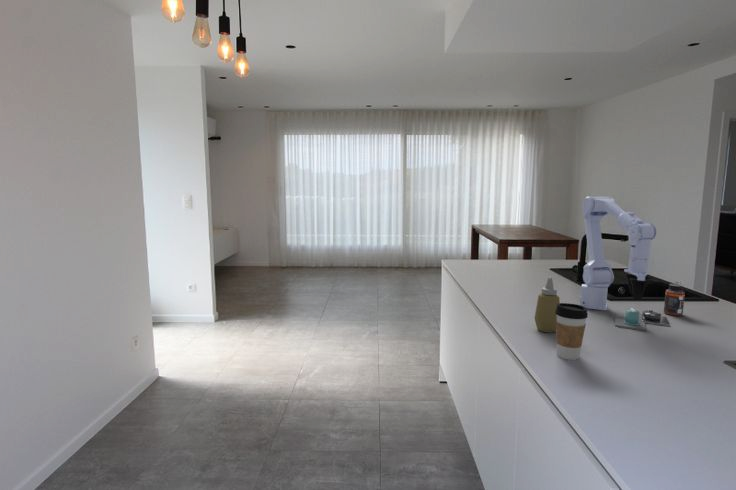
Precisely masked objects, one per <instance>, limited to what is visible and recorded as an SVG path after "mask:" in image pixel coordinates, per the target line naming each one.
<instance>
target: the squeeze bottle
mask: <svg viewBox="0 0 736 490" xmlns="http://www.w3.org/2000/svg"><path fill="white" fill-rule="evenodd" d="M557 293H558V289H557V288H556V287H554V283H553V278H552V277H548V278H547V280H546V283H545V286H544V287H541V293H539V294H538V296H537V301H536V308H535V313H534V322H535V325H536V329H537V330H538V331H539V332H542V333H543V332H544V333H556V319H557V314H555V310H556V307H557V304H558V303H561V302H560V296H559V295H557Z"/></svg>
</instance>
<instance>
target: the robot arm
mask: <svg viewBox="0 0 736 490" xmlns="http://www.w3.org/2000/svg"><path fill="white" fill-rule="evenodd" d="M581 208H582V210H581V211H582V217H583V218H582V219H584V227H585V237H586V243H587V244H586V245H587V252H588V260H589V261H588V262H587V263H585V265H584V266H582V267H583V274H582V280H583V282H584V283H582V284H581V288H580V296H579V302H580V303H579V305H581V306H584V307H586V308H587V309H589V310H592V309H593V310H597V311H598V310H599V311H605V312H607V311H608V304H607V299H608V288H609V287H610V286H611V284H612V283H613V282H614V280H615V275H614V271H613V269H612V266H611V264H610V263H609V262H607V261H606V260H605V255H604V245H603V238H602V231H601V223H600V222H601V220H602V219H604V218H606V217H607V216H608V215H610V216H612V217H613V218H615V219H616V220H617V224H618V225H619V227H621V228H622V229H623V230H625V231H626V232H627V237H628V238H629V245H630V249H629V250H630V251H629V257H628V259H629V260H628V268H626V269H624V270H623V271H624V272H625V276H626V279H627V284H628V290H629V291H628V292H629V294H631V295H632V298H633V300H639V301H640V300H642V298H643V296H644V292H645V290H646V288H647V287H648V286H649V284H650V280H646V276H647V275H649V271H648V270H649V263H650V252H651V246H652V245H651V244H652V240H653V239H655V237H656V236H657V229H656V225H654V224H653V223H651V222H647V223H646V222H644V220H643V219H640V218H639V217H638V216H636V215H635V212H633V211H624V209H623V208H621V206H619V205H618V204H617V203H616V199H615V198H613V197H612V196H609V195H608V196H589V195H588V196H585V198H584V199H583V201H582V203H581Z"/></svg>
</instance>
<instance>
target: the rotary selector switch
mask: <svg viewBox="0 0 736 490" xmlns="http://www.w3.org/2000/svg"><path fill="white" fill-rule="evenodd" d="M639 321H643V322H644V323H645V324H650V325H657V326H664V327H670V323H669V321H668V317H667V316H663V315H662V314H661V312H656V311H654V310H653V309H648V310H644V311H642V312H639Z"/></svg>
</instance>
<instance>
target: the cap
mask: <svg viewBox="0 0 736 490" xmlns="http://www.w3.org/2000/svg"><path fill="white" fill-rule="evenodd" d="M639 313H640V311H639V310H638V309H637V310H636V309H634V308H632V307H630V308H628V309H626V310H625V315H624V316H625V317H624V319H625V320H624V323H625V324H627V325H632V326H638V325H640V323H639Z"/></svg>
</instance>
